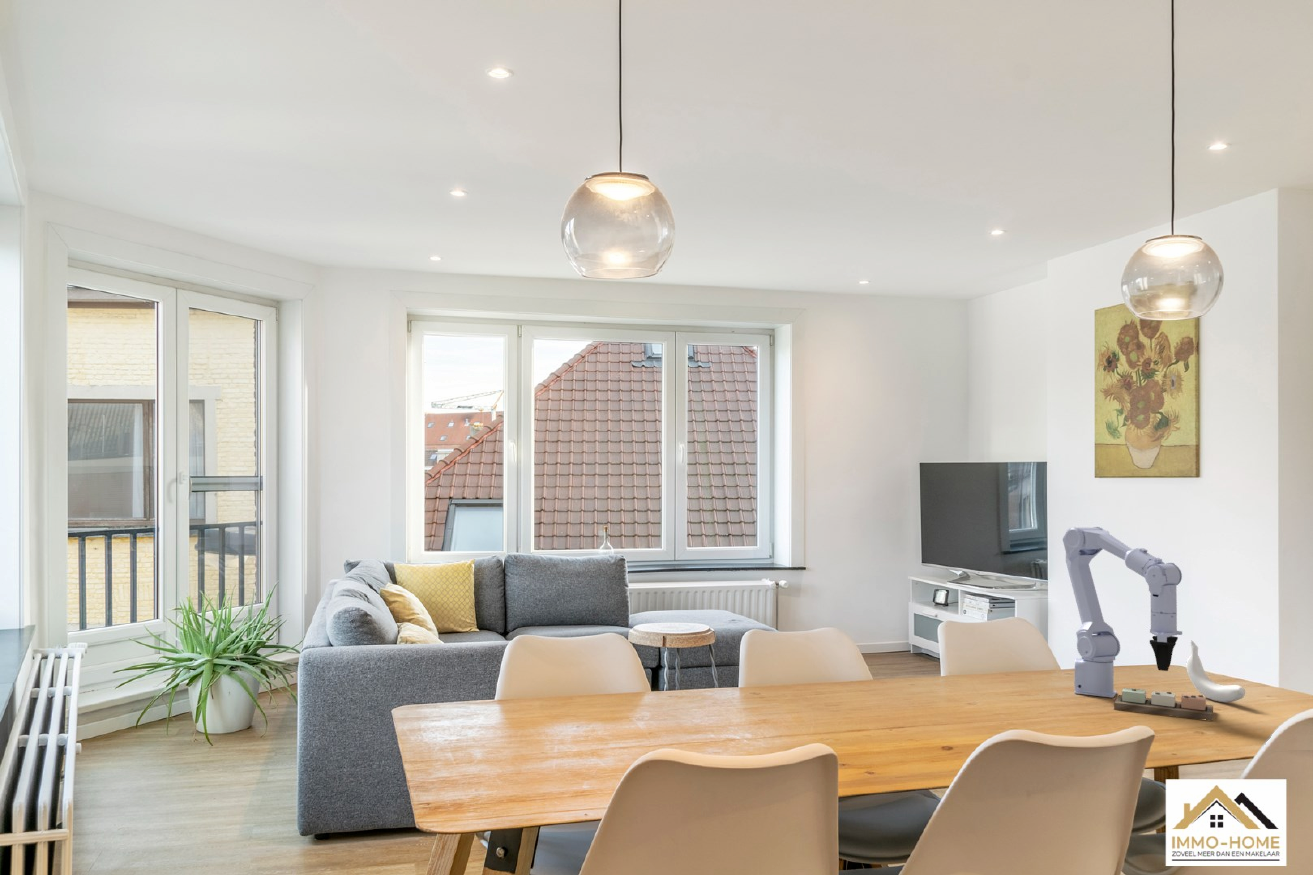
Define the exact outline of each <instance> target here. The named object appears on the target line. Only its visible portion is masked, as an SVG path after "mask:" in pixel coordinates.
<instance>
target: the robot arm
mask: <svg viewBox="0 0 1313 875" xmlns="http://www.w3.org/2000/svg"><path fill="white" fill-rule="evenodd" d="M1062 542H1063V545H1064V550H1065V563H1066V567H1067V571H1068V576H1069V578H1070V583H1071V587H1072V590H1073V594H1074V598H1075V602H1076V606H1077V611H1078V614H1079V617H1080V621H1081V626H1080V627H1079V628H1078V630H1077V631H1076V634H1075V635H1076V638H1077V641H1076V648H1077V652H1078V654H1079V656H1080V657H1081V658H1079V657H1077V658H1075V659H1074V681H1073V684H1074V691H1073V692H1074V694H1077V695H1086V696H1095V697H1102V698H1112V699H1113V698H1114V697H1115V696H1116V694H1117V693H1118V692H1117V690H1114V688H1115V686H1114V685H1115V684H1114V683H1115V682H1114V676H1115V675H1114V673H1115V671H1114V670H1115V669H1114V665H1115V664H1114V662H1115V661H1116V657H1117V656H1118V655H1119V654H1120V651H1121V644H1120V641H1119V639H1118V637H1117V636H1116V634H1115V632H1114V628H1113V627H1112V626H1110V625H1109V623H1107V622H1105V620H1104V617H1103V613H1102V609H1101V604H1100V602H1099V598H1098V593H1097V590H1096V586H1095V584H1094V583H1095V582H1094V579H1093V574H1092V572H1091V571H1092V570H1091V568H1090V563H1091V561H1092V560H1093V559H1094V558H1095V557H1096V556H1098V554H1099V553H1100V552H1102V550H1104V551H1106V552H1108V553H1110V554H1111V555H1114V556H1116V557H1118V558H1119V559H1121V560H1123V561H1124V564H1125V566H1126V568H1128V569H1130V570H1131V571H1132V572H1134V573H1137V574H1138V575H1140V576H1142V577H1143V578H1144V579H1145V582H1146V583H1147V585H1148V592H1149V593H1150V629H1149V633H1150V634H1152V638H1151V639H1149V645H1150V646H1151V648H1152V650H1153V653H1154V656H1155V657H1154V658H1155V662H1156V666H1157V670H1158V671H1163V672H1168V671H1169V669H1170V666H1171V662H1172V659H1173V658H1172V656H1173V651H1174V648H1175V647H1176V644H1177V641H1178V639H1179V637H1178V636H1182V635H1183V631H1182V630H1177V629H1178V628H1177V627H1178V621H1177V620H1178V618H1177V616H1178V614H1177V612H1178V609H1177V608H1178V607H1177V605H1178V604H1177V603H1178V602H1177V601H1178V600H1177V586H1179V584H1181V581H1182V578H1183V574H1182V570H1181V569H1180V568H1179V566H1177V564H1175V563H1174V562H1166V563H1165V562H1164V561H1163V558H1160V557H1155V556H1153V555H1152V554H1150V553H1148V550H1147V549H1146V548H1143V547H1142V548H1131V547H1129V546H1128V545H1127V544H1125V543H1123V542H1122V541H1120V540H1119V539H1118V538H1116V537H1115V536H1114V535H1111V534H1110V531H1108V530H1106V529H1104V528H1102V527H1100V526H1094V527H1093V526H1092V527H1076V526H1072V527H1069V528H1068V529H1067V530H1066V532H1065V534H1064V535H1063V538H1062Z"/></svg>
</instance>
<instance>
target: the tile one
mask: <svg viewBox="0 0 1313 875" xmlns="http://www.w3.org/2000/svg"><path fill="white" fill-rule="evenodd" d="M1121 695H1122V701H1127V702H1136V703H1145V701H1146V698H1147V690H1146V689H1140V688H1139V689H1137V688H1130V687H1123V689H1122V691H1121Z"/></svg>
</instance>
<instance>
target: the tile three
mask: <svg viewBox="0 0 1313 875" xmlns="http://www.w3.org/2000/svg"><path fill="white" fill-rule="evenodd" d="M1180 700H1181V701H1180V702H1181V708H1188V709H1196V710H1205V708H1206V705H1207V704H1206V702H1207V697H1205V696H1204V695H1203V694H1199V695H1194V694H1187V693H1186V694H1185V693H1182V694H1181V697H1180Z"/></svg>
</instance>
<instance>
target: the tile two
mask: <svg viewBox="0 0 1313 875" xmlns="http://www.w3.org/2000/svg"><path fill="white" fill-rule="evenodd" d="M1150 698H1151V704H1153V705H1162V706H1170V707H1175V703H1176V698H1177V697H1176V693H1175V692H1172V691H1171V692H1170V691H1157V690H1153V691H1152V692H1151V694H1150Z"/></svg>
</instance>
